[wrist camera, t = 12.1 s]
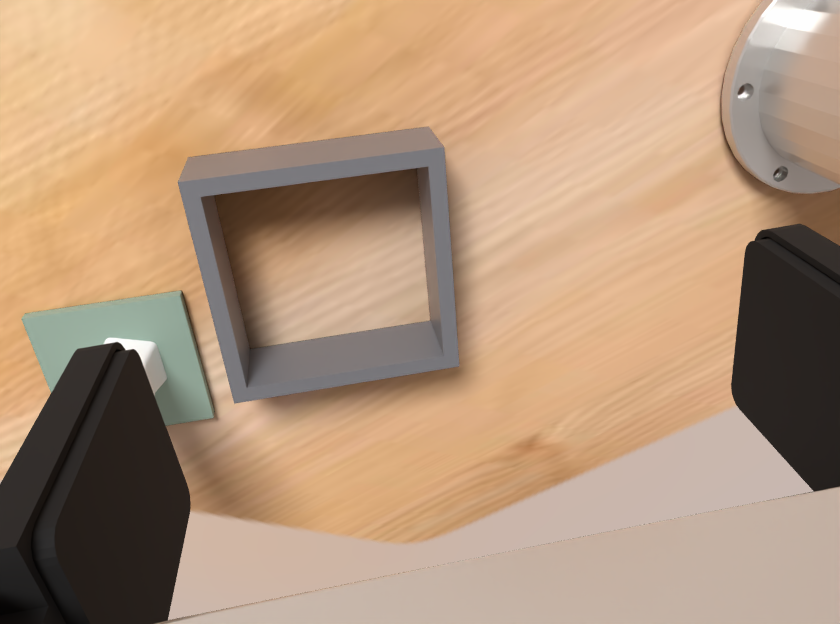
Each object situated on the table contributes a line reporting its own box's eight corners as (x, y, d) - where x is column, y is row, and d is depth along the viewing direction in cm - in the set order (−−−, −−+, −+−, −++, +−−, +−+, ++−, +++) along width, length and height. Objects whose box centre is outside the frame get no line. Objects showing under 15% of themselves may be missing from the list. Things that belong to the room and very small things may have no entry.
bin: (428, 126, 36) (444, 147, 33) (444, 330, 42) (459, 366, 39) (188, 157, 35) (177, 182, 32) (238, 363, 41) (234, 403, 37)
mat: (181, 290, 38) (180, 295, 38) (214, 411, 42) (213, 417, 42) (25, 313, 37) (21, 319, 37) (73, 435, 41) (70, 441, 41)
